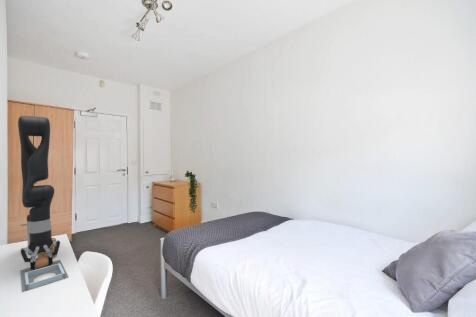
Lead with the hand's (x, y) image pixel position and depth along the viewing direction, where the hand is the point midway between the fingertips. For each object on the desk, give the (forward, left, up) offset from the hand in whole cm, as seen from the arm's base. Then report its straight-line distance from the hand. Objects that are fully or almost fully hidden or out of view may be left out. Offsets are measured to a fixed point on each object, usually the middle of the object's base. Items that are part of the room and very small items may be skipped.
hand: (41, 267), depth 103 cm
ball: (0, 0, 0) cm, 0 cm away
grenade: (-12, +3, -1) cm, 12 cm away
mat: (+8, 0, -1) cm, 8 cm away
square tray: (+13, 0, 0) cm, 13 cm away
